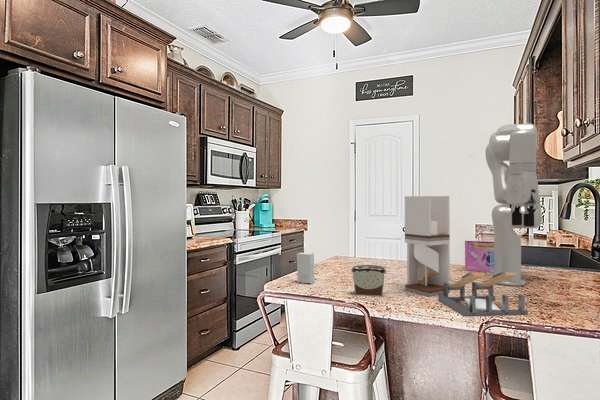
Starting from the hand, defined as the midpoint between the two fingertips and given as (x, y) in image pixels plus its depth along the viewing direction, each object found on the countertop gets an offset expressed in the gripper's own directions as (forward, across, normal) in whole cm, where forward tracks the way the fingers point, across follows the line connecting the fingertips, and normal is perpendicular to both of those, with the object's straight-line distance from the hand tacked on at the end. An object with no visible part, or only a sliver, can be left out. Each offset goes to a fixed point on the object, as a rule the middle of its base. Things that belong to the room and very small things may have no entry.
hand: (522, 225), depth 125 cm
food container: (+26, -18, -46) cm, 56 cm away
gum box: (+26, -55, +22) cm, 65 cm away
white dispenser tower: (+26, -19, -24) cm, 40 cm away
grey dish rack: (+25, +2, -15) cm, 30 cm away
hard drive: (+26, +2, -15) cm, 30 cm away
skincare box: (+26, -38, -67) cm, 81 cm away
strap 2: (+19, +1, -10) cm, 21 cm away
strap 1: (+19, +1, -20) cm, 27 cm away
